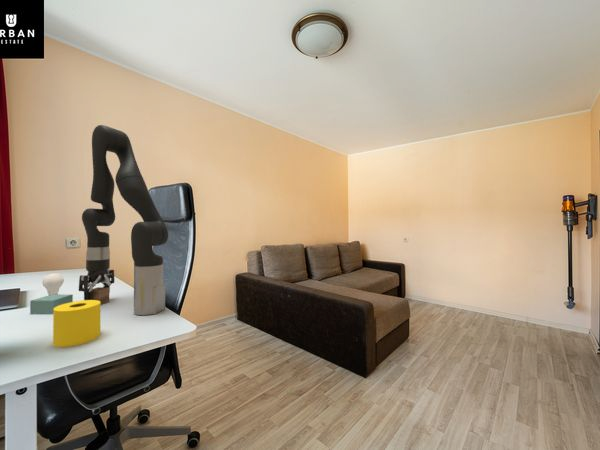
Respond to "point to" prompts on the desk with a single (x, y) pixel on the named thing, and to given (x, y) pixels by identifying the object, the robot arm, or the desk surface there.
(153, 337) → the desk surface
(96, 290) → the walnut block
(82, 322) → the yellow holed block
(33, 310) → the teal block
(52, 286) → the light bulb
